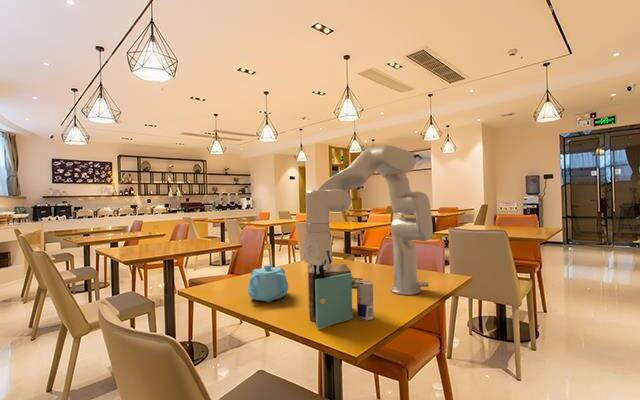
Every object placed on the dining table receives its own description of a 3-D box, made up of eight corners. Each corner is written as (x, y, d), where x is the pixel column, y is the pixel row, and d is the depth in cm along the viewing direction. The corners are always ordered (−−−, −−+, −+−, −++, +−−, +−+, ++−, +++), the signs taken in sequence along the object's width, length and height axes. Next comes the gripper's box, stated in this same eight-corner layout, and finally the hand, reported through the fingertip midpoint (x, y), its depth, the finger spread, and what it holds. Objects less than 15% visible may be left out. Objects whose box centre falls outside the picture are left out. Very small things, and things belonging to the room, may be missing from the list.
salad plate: (357, 278, 165) (357, 269, 165) (370, 287, 148) (370, 277, 148) (319, 281, 161) (319, 272, 161) (329, 291, 143) (329, 280, 143)
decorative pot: (251, 293, 142) (250, 261, 142) (289, 291, 143) (288, 260, 143) (245, 305, 126) (244, 270, 126) (287, 303, 127) (286, 268, 127)
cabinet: (346, 307, 122) (345, 264, 122) (351, 318, 110) (350, 271, 110) (308, 308, 121) (307, 265, 121) (309, 320, 109) (308, 272, 109)
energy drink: (356, 315, 113) (355, 280, 113) (371, 314, 113) (370, 280, 113) (359, 321, 107) (358, 284, 107) (375, 320, 108) (374, 284, 108)
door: (350, 317, 109) (349, 272, 109) (354, 319, 108) (353, 274, 107) (316, 327, 102) (315, 279, 102) (320, 330, 100) (319, 280, 100)
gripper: (295, 227, 109) (296, 282, 109) (321, 231, 97) (323, 293, 97) (314, 226, 114) (315, 279, 114) (341, 229, 101) (342, 288, 101)
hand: (319, 285), depth 105 cm, fingers closed
